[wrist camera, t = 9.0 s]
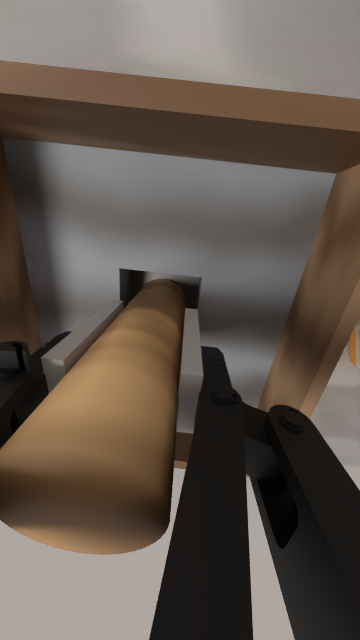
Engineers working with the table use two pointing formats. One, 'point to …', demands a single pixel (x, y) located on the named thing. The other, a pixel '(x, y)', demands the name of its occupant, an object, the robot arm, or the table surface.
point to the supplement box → (355, 345)
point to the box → (184, 216)
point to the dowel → (103, 438)
